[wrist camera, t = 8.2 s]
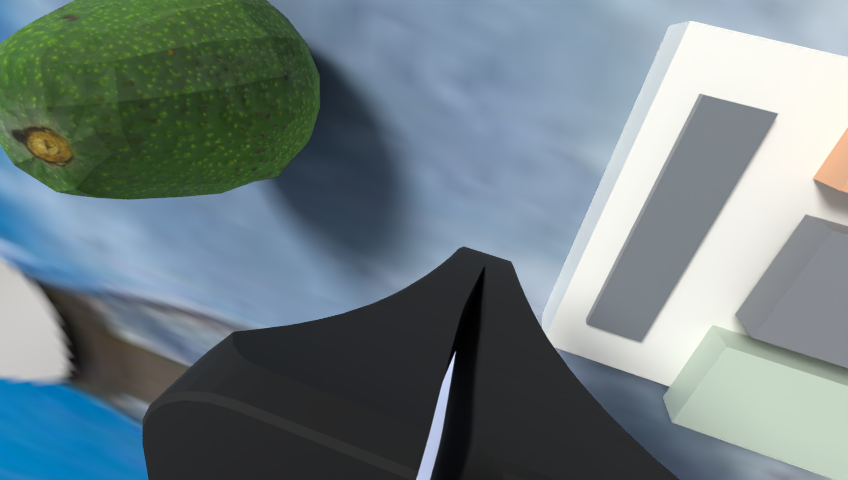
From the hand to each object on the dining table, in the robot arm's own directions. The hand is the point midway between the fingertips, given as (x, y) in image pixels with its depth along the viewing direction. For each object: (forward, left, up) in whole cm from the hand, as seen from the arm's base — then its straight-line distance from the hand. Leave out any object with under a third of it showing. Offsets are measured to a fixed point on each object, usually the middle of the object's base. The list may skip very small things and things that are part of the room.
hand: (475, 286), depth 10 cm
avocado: (+1, +12, -11) cm, 16 cm away
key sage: (-5, -14, -8) cm, 17 cm away
